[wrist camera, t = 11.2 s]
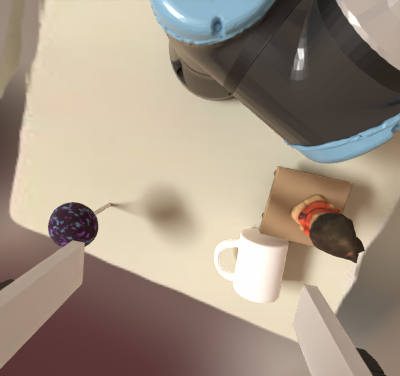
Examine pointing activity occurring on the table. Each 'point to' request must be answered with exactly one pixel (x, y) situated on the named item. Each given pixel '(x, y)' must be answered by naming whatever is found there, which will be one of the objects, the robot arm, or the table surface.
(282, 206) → the tan legged square part
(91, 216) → the lollipop
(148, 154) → the table surface
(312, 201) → the figurine
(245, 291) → the mug
